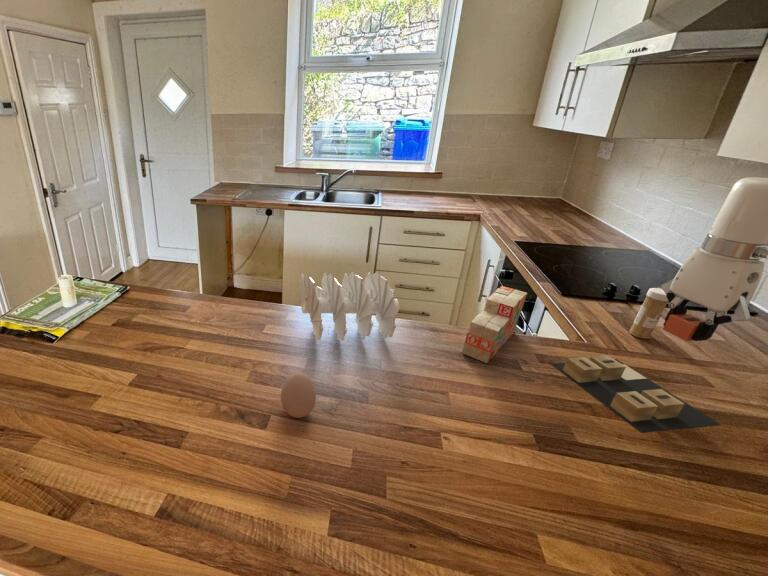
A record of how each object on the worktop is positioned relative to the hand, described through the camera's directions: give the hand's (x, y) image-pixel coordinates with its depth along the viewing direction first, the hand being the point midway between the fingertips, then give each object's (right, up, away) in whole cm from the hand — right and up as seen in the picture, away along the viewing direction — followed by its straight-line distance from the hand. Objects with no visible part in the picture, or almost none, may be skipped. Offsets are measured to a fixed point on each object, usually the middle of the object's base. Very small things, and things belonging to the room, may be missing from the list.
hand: (684, 332), depth 81 cm
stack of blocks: (-26, -6, +24) cm, 36 cm away
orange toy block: (0, -1, 0) cm, 1 cm away
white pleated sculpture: (-63, -4, +27) cm, 68 cm away
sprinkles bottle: (+18, -4, +28) cm, 34 cm away
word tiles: (-9, -14, +6) cm, 17 cm away
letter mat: (-6, -14, +6) cm, 17 cm away
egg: (-79, -17, -1) cm, 80 cm away
